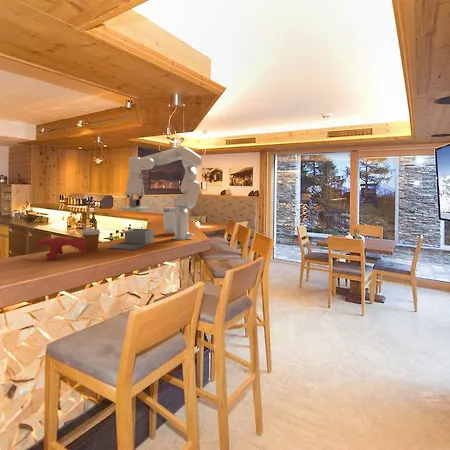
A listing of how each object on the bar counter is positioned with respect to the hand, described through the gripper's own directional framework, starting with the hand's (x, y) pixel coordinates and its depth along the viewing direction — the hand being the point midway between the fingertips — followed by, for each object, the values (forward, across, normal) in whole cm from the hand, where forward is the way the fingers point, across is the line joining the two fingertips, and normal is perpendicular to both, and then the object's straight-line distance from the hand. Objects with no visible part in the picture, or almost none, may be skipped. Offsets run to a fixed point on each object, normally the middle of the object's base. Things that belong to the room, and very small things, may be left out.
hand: (134, 205), depth 211 cm
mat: (+25, -1, +10) cm, 27 cm away
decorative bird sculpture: (+26, +19, +49) cm, 58 cm away
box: (+25, 0, -7) cm, 26 cm away
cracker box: (+24, -10, -48) cm, 54 cm away
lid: (+3, 0, 0) cm, 3 cm away
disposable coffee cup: (+25, +13, +28) cm, 40 cm away
